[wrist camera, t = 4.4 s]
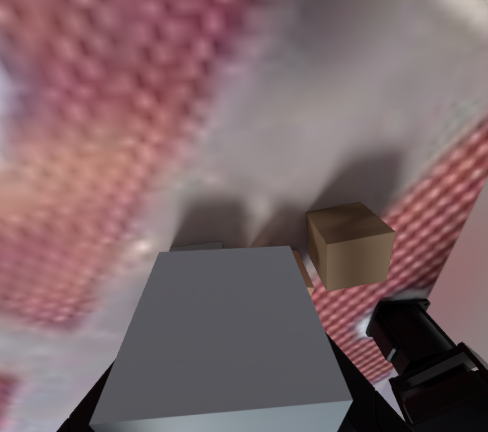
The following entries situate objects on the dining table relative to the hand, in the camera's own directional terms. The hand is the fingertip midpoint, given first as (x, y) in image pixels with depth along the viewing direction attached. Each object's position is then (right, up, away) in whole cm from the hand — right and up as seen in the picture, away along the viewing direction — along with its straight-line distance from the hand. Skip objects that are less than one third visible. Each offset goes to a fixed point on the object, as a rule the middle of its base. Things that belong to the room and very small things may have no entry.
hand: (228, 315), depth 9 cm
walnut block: (+9, +3, +13) cm, 16 cm away
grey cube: (0, +1, +1) cm, 1 cm away
